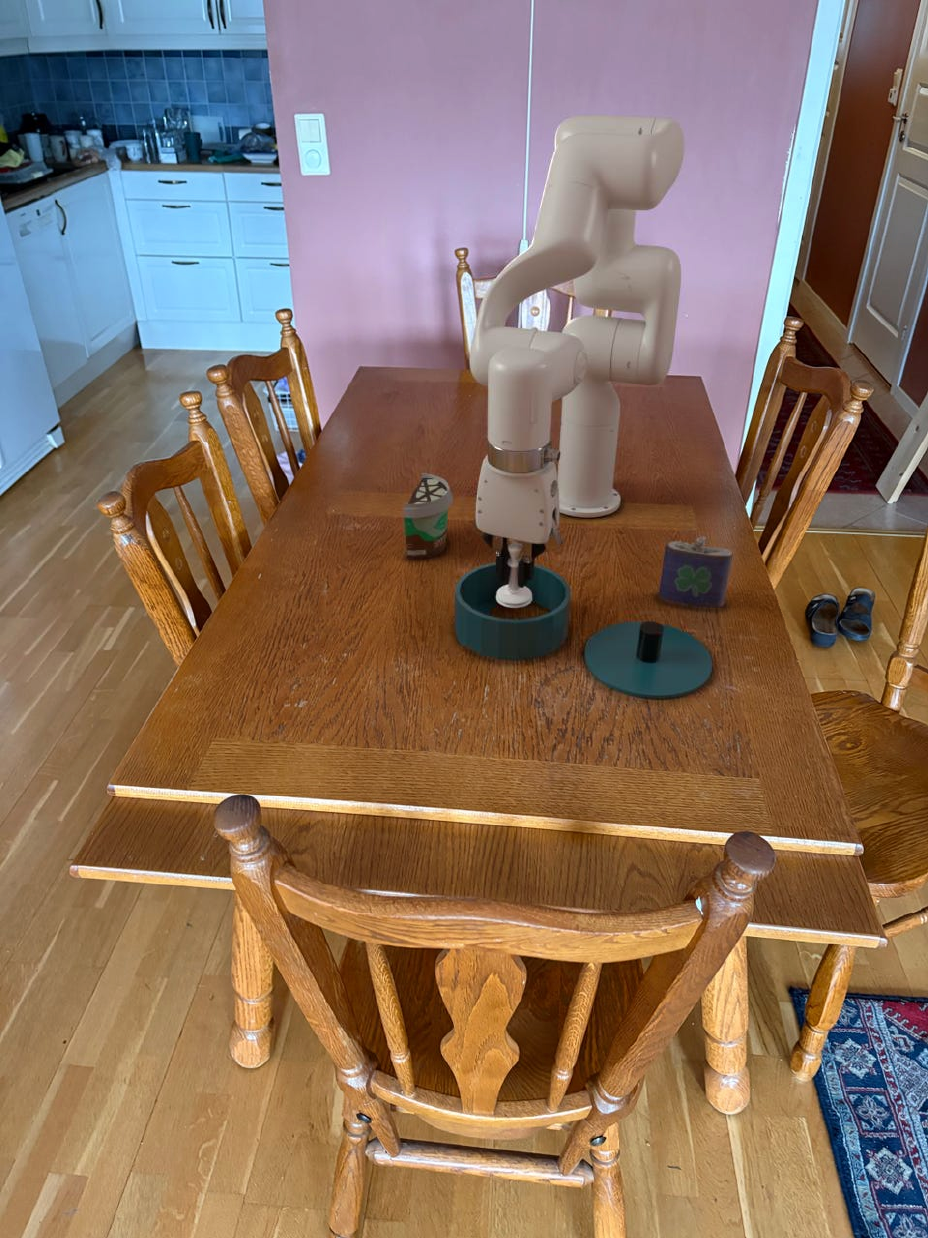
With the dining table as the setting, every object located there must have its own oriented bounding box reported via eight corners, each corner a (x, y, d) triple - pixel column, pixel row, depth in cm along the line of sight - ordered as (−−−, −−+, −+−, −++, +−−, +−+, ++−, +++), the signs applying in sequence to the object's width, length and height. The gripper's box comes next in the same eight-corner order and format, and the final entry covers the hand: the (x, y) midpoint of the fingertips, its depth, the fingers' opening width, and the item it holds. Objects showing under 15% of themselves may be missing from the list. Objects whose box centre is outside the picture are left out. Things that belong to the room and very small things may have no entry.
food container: (443, 567, 140) (442, 509, 135) (404, 563, 141) (402, 505, 136) (460, 530, 150) (460, 474, 145) (423, 527, 151) (422, 471, 146)
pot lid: (604, 618, 129) (607, 583, 125) (722, 645, 123) (728, 609, 120) (567, 683, 116) (570, 646, 113) (696, 716, 110) (703, 679, 107)
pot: (481, 591, 134) (482, 552, 131) (582, 614, 129) (585, 575, 126) (436, 646, 123) (436, 606, 119) (545, 675, 117) (548, 633, 114)
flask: (723, 602, 132) (735, 537, 126) (722, 613, 130) (734, 547, 124) (658, 593, 134) (667, 528, 128) (656, 603, 132) (665, 538, 126)
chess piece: (493, 589, 126) (494, 525, 120) (529, 587, 126) (532, 523, 120) (497, 609, 122) (499, 543, 116) (534, 607, 122) (537, 542, 116)
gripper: (590, 451, 112) (580, 579, 122) (470, 431, 117) (470, 555, 128) (570, 476, 106) (562, 608, 117) (446, 454, 112) (448, 581, 122)
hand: (514, 579), depth 122 cm, fingers closed on chess piece
